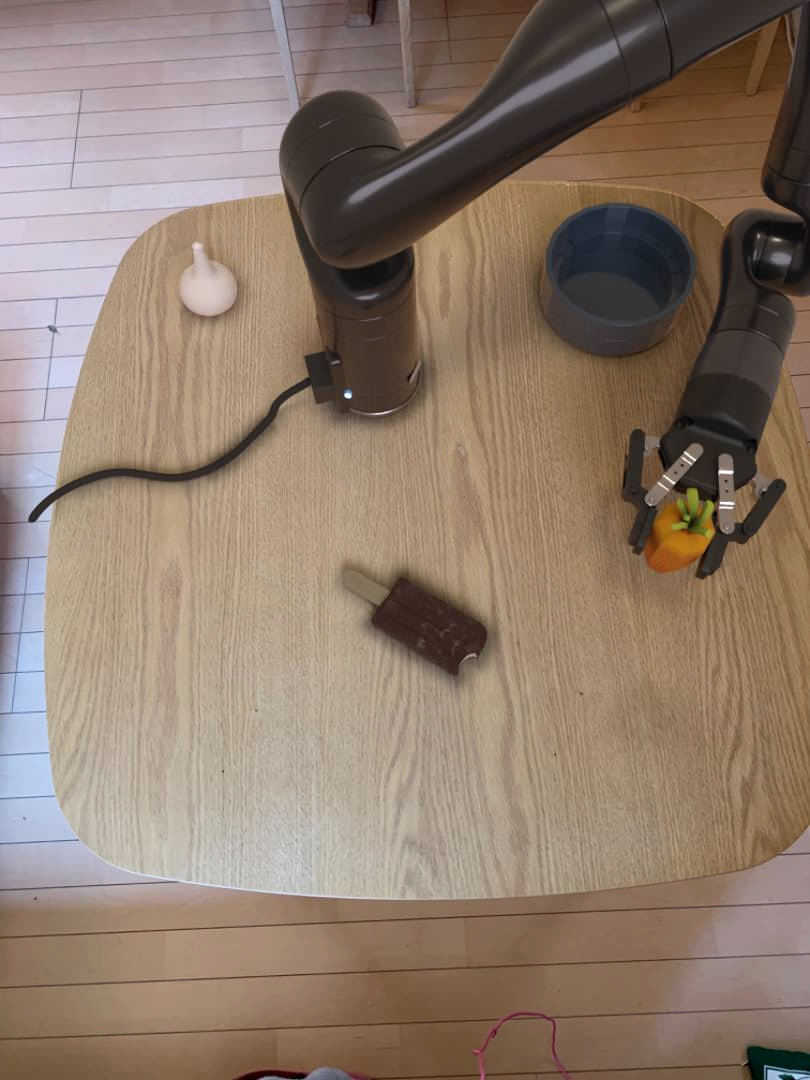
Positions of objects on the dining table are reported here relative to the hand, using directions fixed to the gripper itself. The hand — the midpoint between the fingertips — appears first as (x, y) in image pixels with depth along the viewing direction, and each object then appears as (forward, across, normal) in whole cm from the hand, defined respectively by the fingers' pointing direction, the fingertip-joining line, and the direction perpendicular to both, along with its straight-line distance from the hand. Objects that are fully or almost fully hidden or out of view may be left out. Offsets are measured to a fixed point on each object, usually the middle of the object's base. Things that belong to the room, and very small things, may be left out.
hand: (669, 562), depth 70 cm
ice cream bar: (+10, -20, +11) cm, 25 cm away
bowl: (-31, -14, +11) cm, 36 cm away
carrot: (-3, 0, +9) cm, 9 cm away
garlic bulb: (-15, -54, +11) cm, 57 cm away
